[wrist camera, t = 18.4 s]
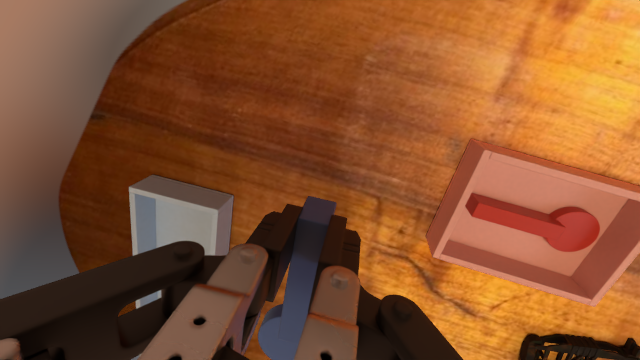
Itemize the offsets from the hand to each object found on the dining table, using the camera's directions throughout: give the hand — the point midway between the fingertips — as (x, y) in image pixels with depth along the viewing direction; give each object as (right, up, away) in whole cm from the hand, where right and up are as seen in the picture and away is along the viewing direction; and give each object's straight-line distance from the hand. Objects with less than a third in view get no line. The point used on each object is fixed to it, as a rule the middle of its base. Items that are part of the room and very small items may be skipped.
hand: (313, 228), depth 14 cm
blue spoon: (0, -3, +3) cm, 4 cm away
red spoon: (+19, -1, +13) cm, 23 cm away
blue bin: (-16, -10, +23) cm, 30 cm away
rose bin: (+19, -1, +14) cm, 23 cm away
